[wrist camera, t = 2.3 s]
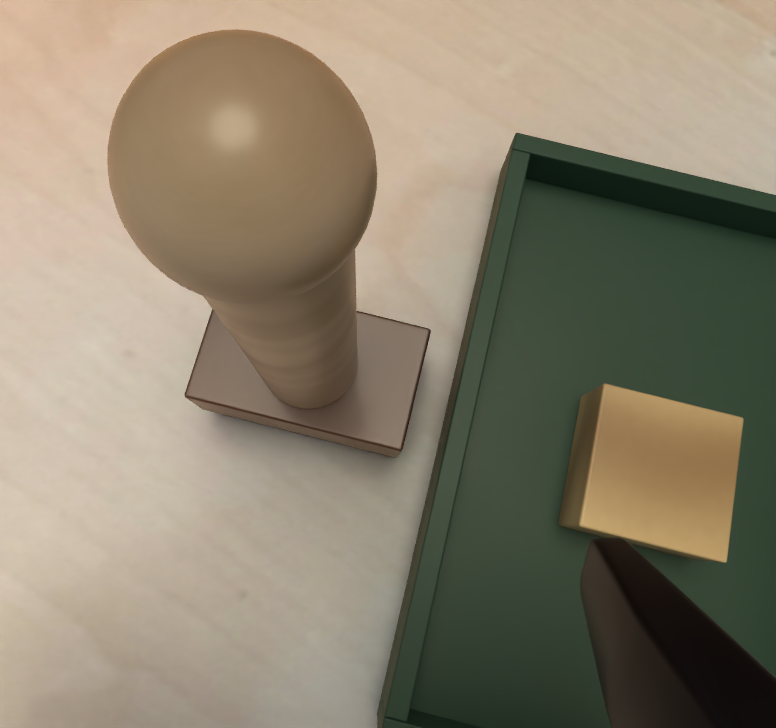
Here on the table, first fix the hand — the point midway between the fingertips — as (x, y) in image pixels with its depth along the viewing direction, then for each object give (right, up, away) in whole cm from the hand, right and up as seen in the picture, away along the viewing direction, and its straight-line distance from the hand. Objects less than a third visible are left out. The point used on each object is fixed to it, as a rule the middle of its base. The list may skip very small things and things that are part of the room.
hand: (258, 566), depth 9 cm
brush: (-1, +2, +12) cm, 12 cm away
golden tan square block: (+9, -1, +11) cm, 14 cm away
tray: (+9, 0, +12) cm, 15 cm away
